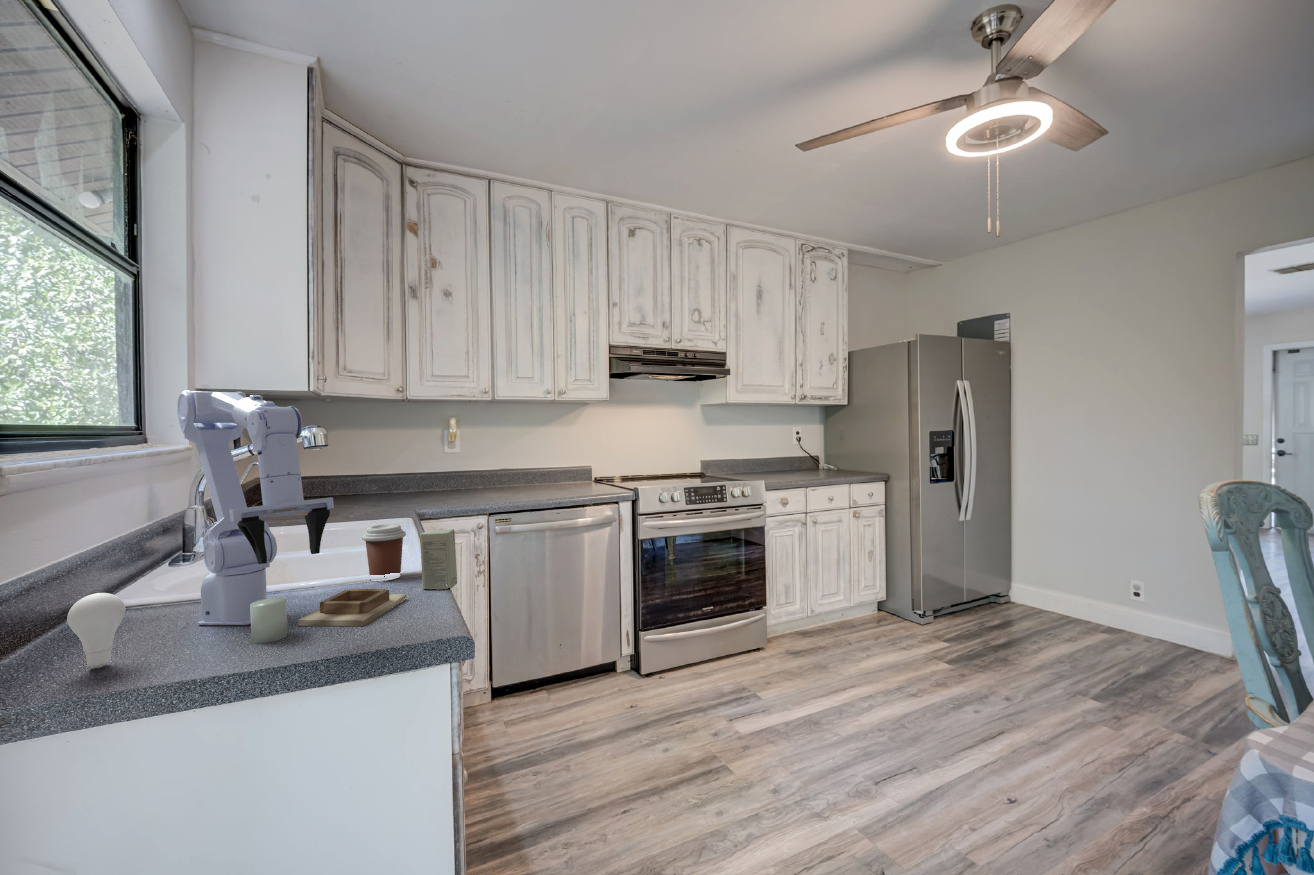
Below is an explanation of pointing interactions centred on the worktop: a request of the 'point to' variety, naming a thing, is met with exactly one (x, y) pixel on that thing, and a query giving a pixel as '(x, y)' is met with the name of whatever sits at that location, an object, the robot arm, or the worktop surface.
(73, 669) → the worktop surface
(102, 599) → the lightbulb
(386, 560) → the coffee cup
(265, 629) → the sage cap
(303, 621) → the socket board
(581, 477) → the worktop surface
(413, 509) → the worktop surface
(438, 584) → the skincare box
